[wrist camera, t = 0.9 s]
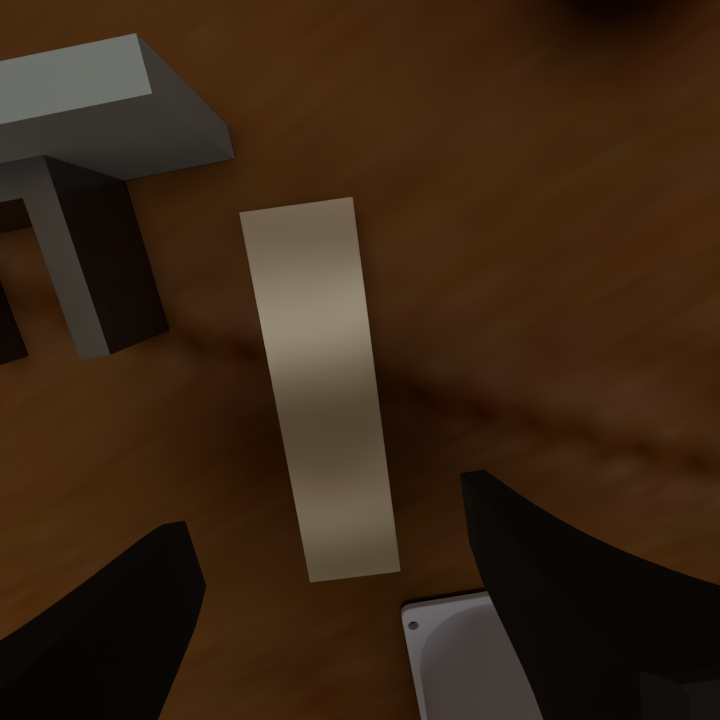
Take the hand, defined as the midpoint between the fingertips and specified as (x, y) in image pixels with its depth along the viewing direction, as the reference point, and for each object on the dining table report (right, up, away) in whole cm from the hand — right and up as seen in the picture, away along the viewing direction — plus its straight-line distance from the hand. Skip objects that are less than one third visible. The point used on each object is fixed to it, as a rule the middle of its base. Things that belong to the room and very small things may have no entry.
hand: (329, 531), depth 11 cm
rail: (0, +4, +8) cm, 9 cm away
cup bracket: (-11, +7, +7) cm, 15 cm away
